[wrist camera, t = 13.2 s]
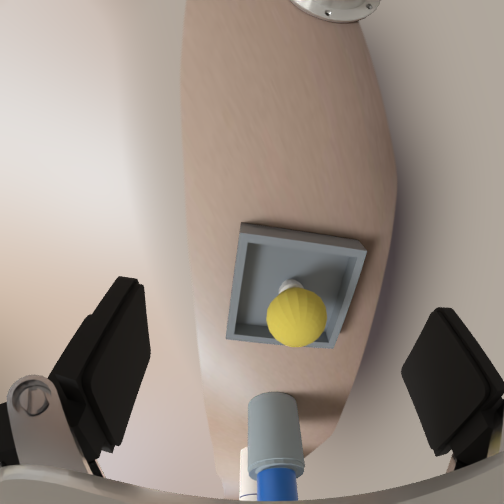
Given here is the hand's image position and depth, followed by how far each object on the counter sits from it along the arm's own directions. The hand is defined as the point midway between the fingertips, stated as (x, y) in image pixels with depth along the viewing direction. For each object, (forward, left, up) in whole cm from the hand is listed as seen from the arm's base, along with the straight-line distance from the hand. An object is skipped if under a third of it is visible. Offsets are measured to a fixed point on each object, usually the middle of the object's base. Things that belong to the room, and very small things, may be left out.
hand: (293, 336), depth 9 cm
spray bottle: (+39, +8, -28) cm, 49 cm away
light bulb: (+13, +6, -27) cm, 30 cm away
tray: (+13, +6, -28) cm, 31 cm away
